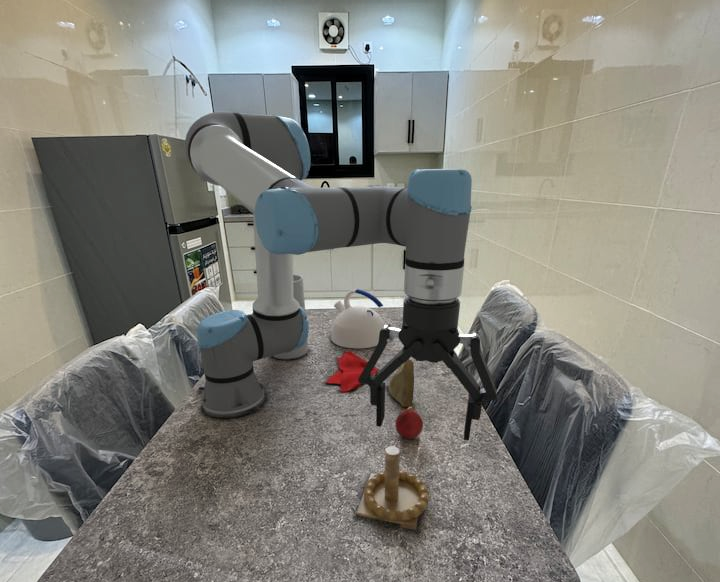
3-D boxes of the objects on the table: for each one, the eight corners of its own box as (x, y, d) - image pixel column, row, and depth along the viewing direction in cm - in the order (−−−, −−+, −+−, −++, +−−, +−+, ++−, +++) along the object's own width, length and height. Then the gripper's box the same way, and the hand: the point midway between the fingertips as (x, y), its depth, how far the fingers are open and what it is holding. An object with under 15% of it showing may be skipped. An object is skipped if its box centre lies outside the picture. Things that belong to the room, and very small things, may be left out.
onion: (404, 449, 81) (405, 417, 78) (390, 435, 85) (390, 404, 82) (427, 441, 83) (429, 410, 80) (411, 427, 88) (413, 397, 85)
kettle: (352, 324, 153) (351, 280, 145) (397, 335, 141) (398, 287, 134) (318, 340, 138) (315, 291, 130) (365, 353, 126) (365, 300, 119)
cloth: (370, 393, 102) (370, 386, 101) (321, 390, 104) (320, 383, 104) (381, 354, 126) (381, 348, 125) (340, 352, 128) (340, 346, 127)
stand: (356, 518, 64) (354, 465, 60) (370, 477, 73) (370, 428, 69) (415, 530, 62) (418, 476, 57) (423, 487, 71) (426, 437, 66)
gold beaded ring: (355, 514, 64) (355, 506, 63) (374, 470, 73) (374, 463, 73) (422, 530, 60) (423, 523, 60) (432, 482, 70) (433, 475, 70)
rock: (422, 403, 93) (428, 380, 101) (401, 377, 91) (409, 355, 99) (388, 418, 99) (396, 395, 107) (367, 394, 97) (378, 372, 105)
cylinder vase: (314, 354, 127) (309, 279, 117) (279, 363, 121) (271, 285, 110) (298, 342, 136) (292, 272, 126) (264, 350, 130) (255, 277, 120)
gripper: (334, 297, 51) (339, 429, 60) (535, 312, 45) (507, 457, 54) (351, 283, 58) (353, 404, 66) (528, 295, 51) (504, 426, 60)
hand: (422, 428), depth 60 cm, fingers open, 13 cm apart
